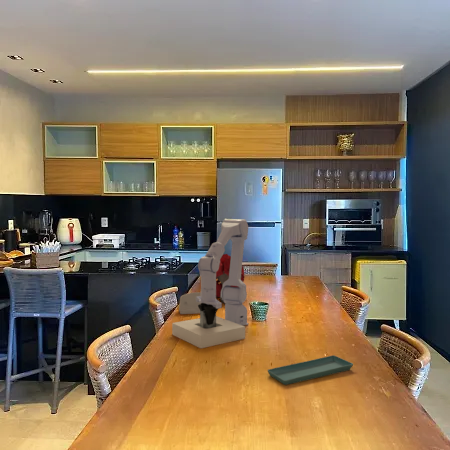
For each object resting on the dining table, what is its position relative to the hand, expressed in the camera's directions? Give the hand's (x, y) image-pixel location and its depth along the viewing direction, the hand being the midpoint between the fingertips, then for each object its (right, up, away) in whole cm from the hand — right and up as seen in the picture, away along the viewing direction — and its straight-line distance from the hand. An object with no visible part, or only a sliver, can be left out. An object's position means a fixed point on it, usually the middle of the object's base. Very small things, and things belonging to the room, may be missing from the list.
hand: (208, 323), depth 172 cm
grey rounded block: (-7, -3, +39) cm, 40 cm away
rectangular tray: (+32, -8, -35) cm, 49 cm away
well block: (0, -5, 0) cm, 5 cm away
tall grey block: (0, -5, 0) cm, 5 cm away
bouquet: (+6, -2, +70) cm, 70 cm away
